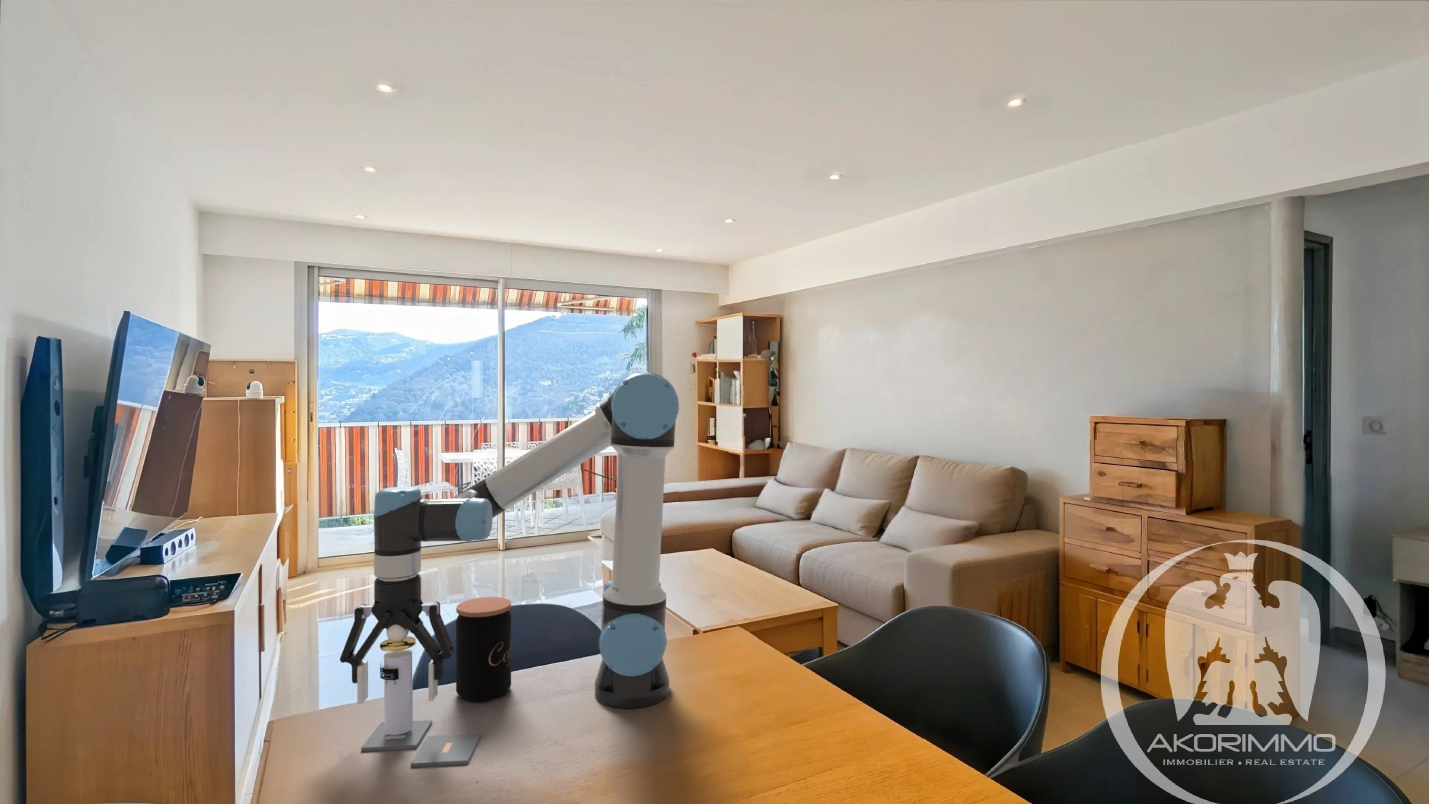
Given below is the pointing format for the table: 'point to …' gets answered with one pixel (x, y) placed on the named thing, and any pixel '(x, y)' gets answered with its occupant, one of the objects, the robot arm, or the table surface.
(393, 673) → the perfume bottle
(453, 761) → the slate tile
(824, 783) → the table surface
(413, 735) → the slate code tile
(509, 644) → the coffee jar
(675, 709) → the table surface
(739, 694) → the table surface
